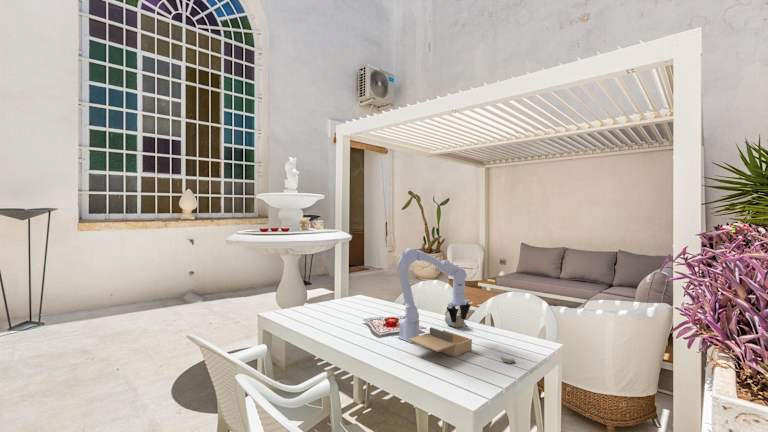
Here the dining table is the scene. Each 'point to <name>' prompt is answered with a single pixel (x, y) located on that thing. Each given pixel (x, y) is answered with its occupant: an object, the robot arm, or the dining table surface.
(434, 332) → the carton lid
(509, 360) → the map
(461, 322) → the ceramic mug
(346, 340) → the dining table surface
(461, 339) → the carton
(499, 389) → the dining table surface
